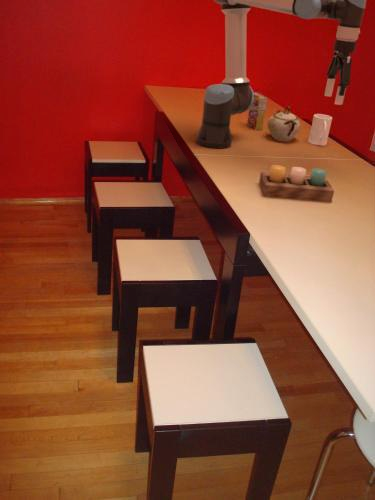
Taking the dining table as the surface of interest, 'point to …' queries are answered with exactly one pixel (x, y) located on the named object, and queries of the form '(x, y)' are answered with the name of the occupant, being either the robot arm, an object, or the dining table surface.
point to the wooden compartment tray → (295, 189)
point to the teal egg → (318, 177)
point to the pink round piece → (297, 175)
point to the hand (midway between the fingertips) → (332, 100)
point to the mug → (320, 129)
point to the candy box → (257, 112)
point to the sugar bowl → (284, 125)
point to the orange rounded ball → (277, 174)
